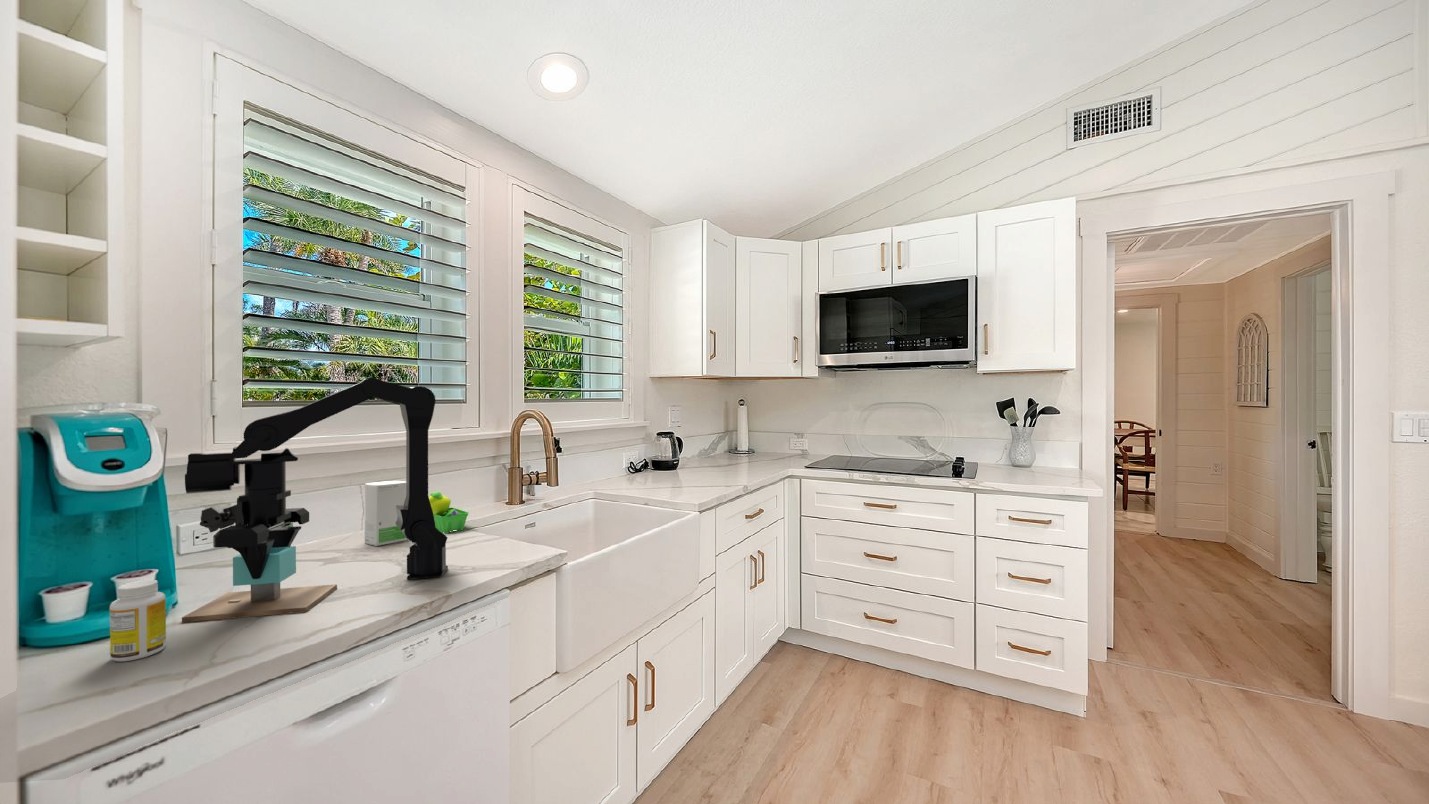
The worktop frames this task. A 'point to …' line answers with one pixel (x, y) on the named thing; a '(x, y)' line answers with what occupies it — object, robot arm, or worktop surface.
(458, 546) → the worktop surface
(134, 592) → the supplement bottle
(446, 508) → the fruit basket
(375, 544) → the skincare box
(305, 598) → the base plate
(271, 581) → the teal hollow block
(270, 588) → the grey rectangular block
